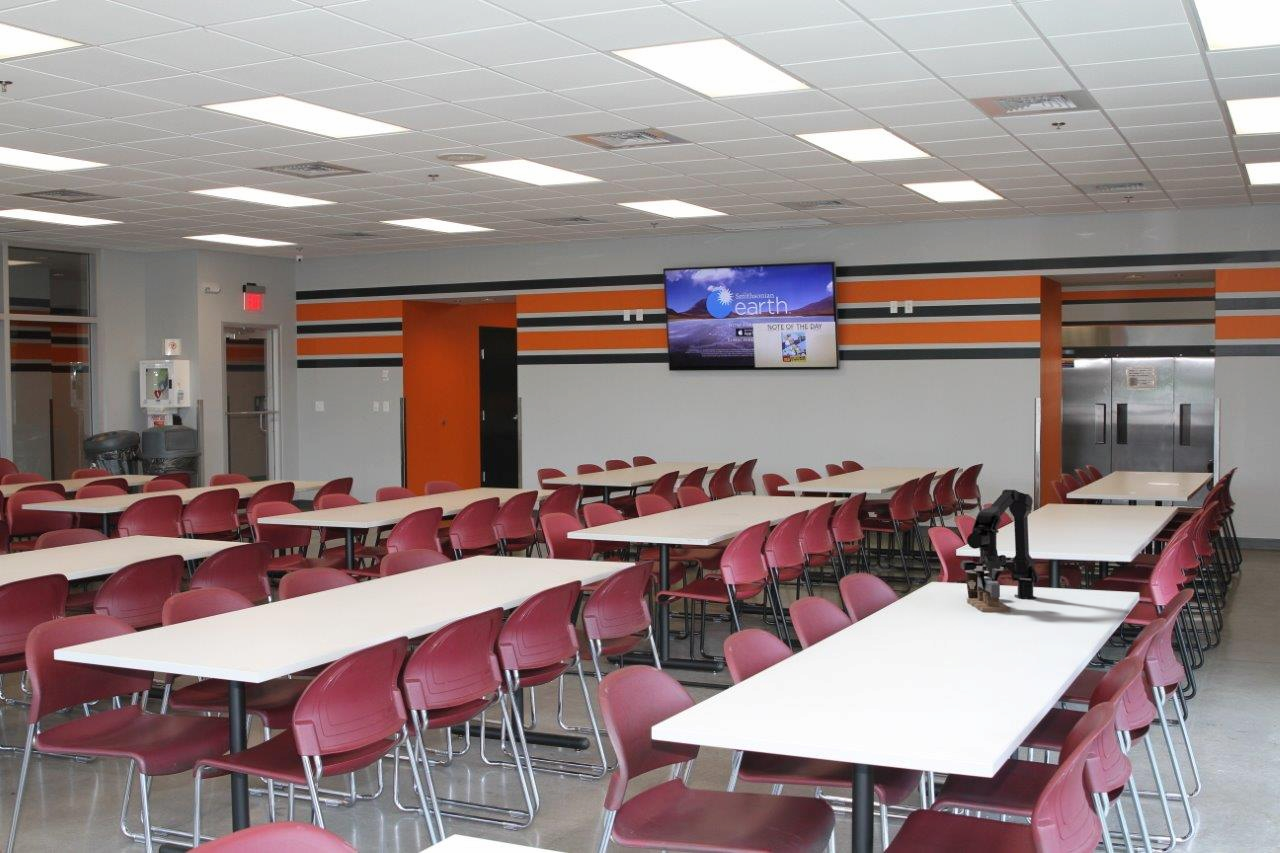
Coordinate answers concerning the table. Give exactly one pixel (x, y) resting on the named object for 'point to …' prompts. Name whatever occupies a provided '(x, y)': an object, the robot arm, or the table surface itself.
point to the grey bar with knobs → (990, 586)
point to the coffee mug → (973, 583)
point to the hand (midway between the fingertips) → (988, 589)
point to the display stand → (988, 603)
